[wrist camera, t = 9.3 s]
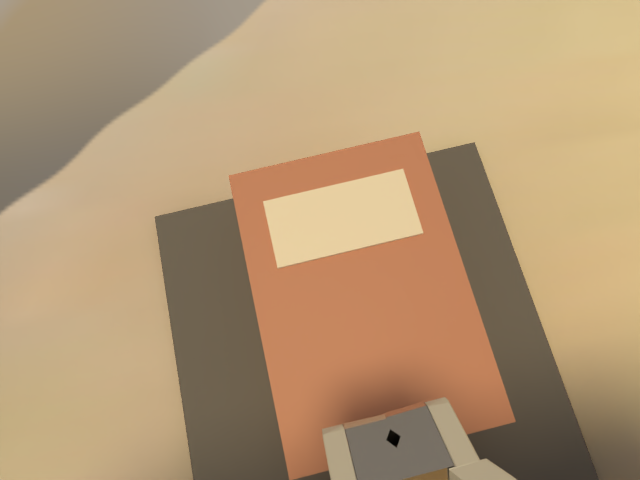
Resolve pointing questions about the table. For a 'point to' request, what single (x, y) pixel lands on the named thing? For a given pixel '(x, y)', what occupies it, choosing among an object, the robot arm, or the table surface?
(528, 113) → the table surface
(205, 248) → the mat
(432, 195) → the box
